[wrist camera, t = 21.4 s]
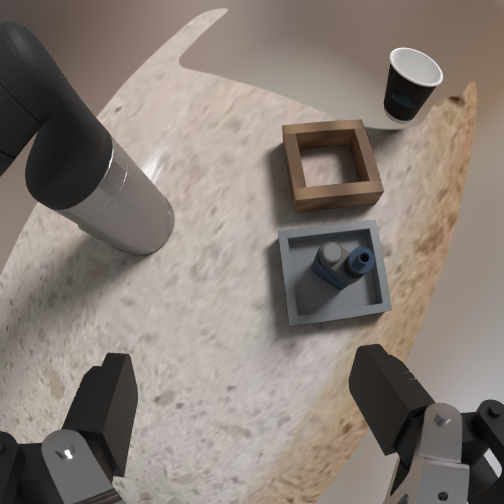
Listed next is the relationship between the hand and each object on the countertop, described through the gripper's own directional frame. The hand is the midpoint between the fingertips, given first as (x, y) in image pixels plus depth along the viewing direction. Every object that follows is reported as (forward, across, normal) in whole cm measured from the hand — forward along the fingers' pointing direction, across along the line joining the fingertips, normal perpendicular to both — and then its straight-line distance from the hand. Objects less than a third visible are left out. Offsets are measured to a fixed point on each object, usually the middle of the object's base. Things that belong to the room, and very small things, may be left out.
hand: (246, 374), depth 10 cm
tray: (+25, -14, +7) cm, 29 cm away
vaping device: (+24, -13, +6) cm, 28 cm away
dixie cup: (+35, -28, -16) cm, 48 cm away
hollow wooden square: (+32, -15, -5) cm, 36 cm away
